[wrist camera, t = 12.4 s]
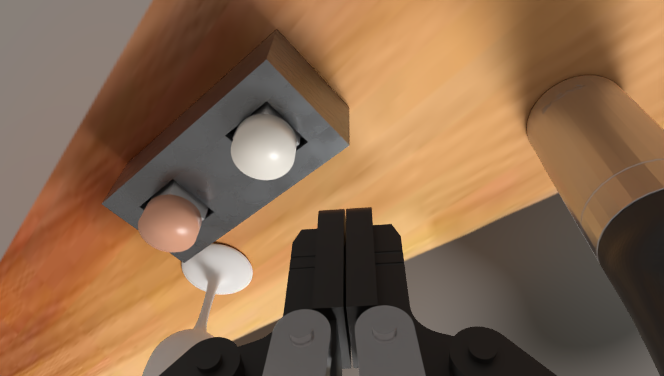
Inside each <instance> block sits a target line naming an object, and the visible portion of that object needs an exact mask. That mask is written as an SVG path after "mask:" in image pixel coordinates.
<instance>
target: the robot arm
mask: <svg viewBox="0 0 664 376" xmlns="http://www.w3.org/2000/svg"><path fill="white" fill-rule="evenodd" d="M527 136H528V138H529V141H530V143H531V145H532V147H533V149H534V150H535V152H536V154H537V156H538V157H539V159H540V161H541V163H542V165H543V166H544V168H545V170H546V172H547V173H548V175H549V177H550V179H551V180H552V182H553V184H554V186H555V187H556V189H557V191H558V192H559V194H560V196H561V198H562V199H563V201H564V203H565V205H566V206H567V208H568V210H569V212H570V213H571V215H572V217H573V218H574V220H575V222H576V224H577V225H578V227H579V229H580V231H581V232H582V234H583V236H584V237H585V239H586V241H587V242H588V244H589V246H590V248H591V249H592V251H593V252H594V254H595V256H596V258H597V260H598V262H599V263H600V265H601V267H602V269H603V270H604V272H605V274H606V275H607V277H608V279H609V280H610V282H611V284H612V285H613V287H614V289H615V290H616V292H617V294H618V295H619V297H620V299H621V300H622V302H623V304H624V306H625V308H626V309H627V311H628V313H629V315H630V316H631V318H632V320H633V322H634V324H635V326H636V328H637V329H638V332H639V334H640V335H641V338H642V339H643V341H644V343H645V345H646V347H647V349H648V351H649V354H650V356H651V358H652V360H653V362H654V364H655V366H656V368H657V370H658V372H659V374H660V376H664V130H663V129H662V128H661V127H660V126H659V125H658V124H657V123H656V122H655V121H654V120H653V119H652V118H651V117H650V116H649V115H648V114H647V113H646V112H645V111H644V110H643V109H642V108H641V107H640V106H639V105H638V104H637V103H636V102H635V101H634V100H633V99H632V98H630V97H629V96H628V95H627V94H626V93H625V92H624V91H623V90H622V89H621V88H620V87H619V86H618V85H617V84H616V83H615V82H613V81H611V80H609V79H607V78H605V77H601V76H596V75H584V76H578V77H573V78H570V79H567V80H564V81H562V82H561V83H559V84H557V85H555V86H553V87H552V88H551V89H549V90H548V91H547V92H545V93H544V94H543V95H542V96H541V98H540V99H539V100H538V101H537V102H536V104H535V105H534V107H533V108H532V110H531V113H530V115H529V118H528V122H527ZM289 269H290V271H289V276H288V283H287V291H286V299H285V307H284V314H283V317H282V318H281V319H280V320H279V321H278V322H277V324H276V325H275V327H274V329H273V331H272V332H271V333H270V334H269V335H267V336H266V337H264V338H262V339H260V340H257V341H255V342H251V343H249V344H246V345H242V346H239V347H237V346H236V344H235V343H234V342H232V341H231V340H229V339H226V338H222V337H213V338H208V339H205V340H203V341H200V342H198V343H197V344H195V345H194V346H192V347H191V348H190V349H189V350H188V351H187V352H185V353H184V354H183V355H182V356H181V357H180V358H178V359H177V360H176V361H175V362H174V363H173V364H172V365H170V366H169V367H168V368H167V369H166V370H165V371H163V372H162V373H161V374H160V375H159V376H342V369H345V368H351V350H352V358H353V366H354V368H359V376H556V375H555V374H554V373H553V372H551V371H549V369H547V368H546V367H545V366H543V365H542V364H541V363H539V362H538V361H537V360H535V359H534V358H533V357H531V356H530V355H529V354H527V353H526V352H524V351H523V350H522V349H521V348H519V347H518V346H517V345H515V344H514V343H513V342H511V341H510V340H509V339H507V338H506V337H505V336H503V335H502V334H500V333H499V332H497V331H495V330H493V329H489V328H485V327H470V328H466V329H464V330H461V331H460V332H458V333H457V334H456V335H455V336H451V335H446V334H442V333H438V332H435V331H432V330H430V329H428V328H426V327H424V326H423V325H421V324H420V323H419V322H418V321H417V320H416V319H415V317H414V316H413V314H412V312H411V309H410V304H409V296H408V289H407V281H406V274H405V266H404V258H403V251H402V243H401V236H400V235H399V233H398V232H397V231H396V229H395V228H394V227H393V226H392V224H386V225H373V222H372V207H368V208H353V209H346V217H345V210H344V209H339V210H323V211H319V214H318V228H317V229H306V230H301V231H300V233H299V234H298V236H297V237H296V239H295V240H294V242H293V244H292V252H291V260H290V268H289Z"/></svg>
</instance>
